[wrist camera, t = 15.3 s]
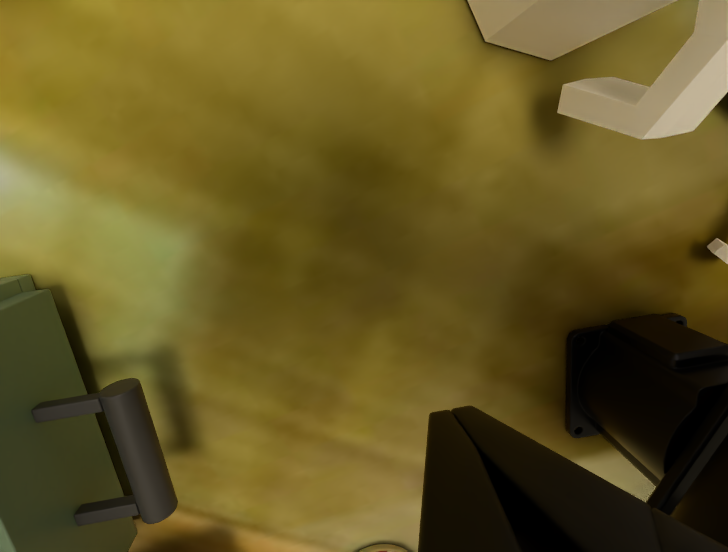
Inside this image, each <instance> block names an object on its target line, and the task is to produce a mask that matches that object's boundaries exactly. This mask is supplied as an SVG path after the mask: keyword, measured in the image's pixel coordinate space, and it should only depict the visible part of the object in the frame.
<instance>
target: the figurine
mask: <svg viewBox="0 0 728 552" xmlns="http://www.w3.org/2000/svg"><path fill="white" fill-rule="evenodd" d="M707 248H708V249H709V250H710V251H711V252H712V253H713V254H715V255H716V256H718V257H719V258H720V259H722V260H723V261H724V262H725V263H727V264H728V244H726V243H724V242H723V241H721V240H719V239H718V238H716V239H715V240H714V241H712V242H711V243H710V244H709V245H708V246H707Z"/></svg>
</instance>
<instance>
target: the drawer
mask: <svg viewBox="0 0 728 552" xmlns="http://www.w3.org/2000/svg"><path fill="white" fill-rule="evenodd" d="M103 411H104V412H105V415H106V418H107V421H108V423H109V426H110V429H111V432H112V435H113V438H114V441H115V443H116V446H117V449H118V452H119V455H120V458H121V460H122V463H123V466H124V469H125V472H126V475H127V477H128V480H129V483H130V486H131V489H132V492H133V494H134V495H129V496H124V494H123V491H122V488H121V485H120V483H119V480H118V477H117V474H116V472H115V469H114V466H113V463H112V461H111V458H110V455H109V452H108V449H107V447H106V444H105V441H104V438H103V436H102V433H101V430H100V427H99V424H98V422H97V419H96V416H95V413H99V412H103ZM177 503H178V501H177V497H176V494H175V491H174V488H173V485H172V481H171V478H170V475H169V472H168V469H167V466H166V462H165V459H164V456H163V453H162V450H161V447H160V444H159V440H158V437H157V434H156V431H155V428H154V425H153V421H152V418H151V415H150V412H149V409H148V406H147V402H146V399H145V396H144V393H143V390H142V387H141V384H140V381H139V380H138V379H136V378H129V379H124V380H120V381H117V382H115V383H112V384H110V385H109V386H107V387H105V388H104V389H103V390H101V392H100V393H94V394H87V391H86V388H85V386H84V383H83V380H82V377H81V375H80V372H79V369H78V366H77V364H76V361H75V358H74V355H73V352H72V350H71V347H70V344H69V341H68V339H67V336H66V333H65V330H64V327H63V325H62V322H61V319H60V316H59V314H58V311H57V308H56V305H55V303H54V300H53V297H52V294H51V291H50V289H43V290H36V291H29V292H22V293H19V294H17V295H14V296H12V297H9V298H7V299H5V300H2V301H0V552H128V550H129V548H130V546H131V544H132V542H133V540H134V538H135V537H136V535H137V530H136V527H135V524H134V522H133V519H132V516H136V515H139V514H141V517H142V520H143V521H144V522H145V523H147V524H154V523H158V522H160V521H162V520H164V519H166V518H167V517H169V516H170V515H171V514H172V513H173V512H174V510H175V509H176V507H177Z"/></svg>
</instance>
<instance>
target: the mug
mask: <svg viewBox="0 0 728 552" xmlns="http://www.w3.org/2000/svg"><path fill="white" fill-rule="evenodd" d="M467 1H468V3H469V5H470V7H471V10H472V12H473V14H474V17H475V19H476V21H477V24H478V26H479V28H480V30H481V33H482V35H483V37H484V40H485V42H489V43H492V44H496V45H499V46H503V47H506V48H509V49H513V50H516V51H520V52H523V53H527V54H530V55H533V56H537V57H540V58H544V59H547V60H553V59H556V58H558V57H560V56H562V55H564V54H566V53H568V52H570V51H572V50H574V49H577V48H579V47H581V46H583V45H585V44H587V43H589V42H591V41H593V40H596V39H598V38H600V37H602V36H604V35H606V34H608V33H610V32H612V31H614V30H617V29H619V28H621V27H623V26H625V25H627V24H629V23H631V22H633V21H636V20H638V19H640V18H642V17H644V16H646V15H648V14H650V13H652V12H654V11H657V10H659V9H661V8H663V7H665V6H667V5H669V4H671V3H673V2H676V1H678V0H467ZM727 92H728V0H699V5H698V11H697V17H696V23H695V29H694V33H693V34H692V35H691V37H690V38H689V39H688V40H687V42H686V43H685V44H684V45H683V47H682V48H681V49H680V50H679V52H678V53H677V54H676V55H675V57H674V58H673V59H672V60H671V62H670V63H669V64H668V65H667V67H666V68H665V69H664V70H663V72H662V73H661V74H660V75H659V77H658V78H657V79H656V80H655V82H654V83H653V84H652V86H651V87H648V86H644V85H641V84H637V83H634V82H630V81H627V80H623V79H620V78H616V77H604V78H591V79H582V80H579V81H575V82H571V83H567V84H563V87H562V91H561V96H560V101H559V106H558V111H557V113H559V114H563V115H566V116H569V117H572V118H575V119H578V120H581V121H585V122H588V123H591V124H594V125H597V126H600V127H604V128H607V129H610V130H613V131H616V132H619V133H623V134H626V135H629V136H632V137H635V138H638V139H654V138H664V137H668V136H673V135H677V134H682V133H686V132H691V131H694V130H695V129H696V127H697V126H698V125H699V124H700V123H701V122H702V121H703V120H704V118H705V117H706V116H707V115H708V114H709V113H710V112H711V110H712V109H713V108H714V107H715V106H716V105H717V104H718V102H719V101H720V100H721V99H722V98H723V97H724V96H725V95H726V93H727Z"/></svg>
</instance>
